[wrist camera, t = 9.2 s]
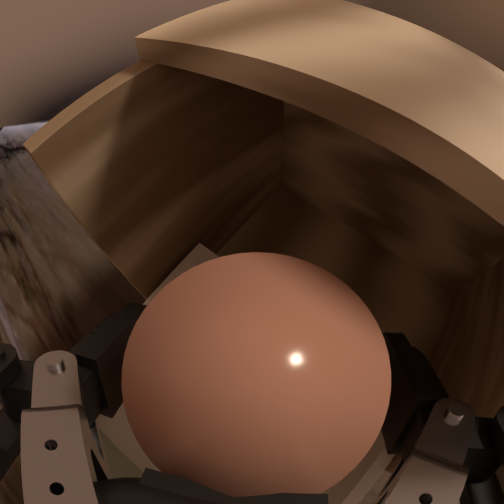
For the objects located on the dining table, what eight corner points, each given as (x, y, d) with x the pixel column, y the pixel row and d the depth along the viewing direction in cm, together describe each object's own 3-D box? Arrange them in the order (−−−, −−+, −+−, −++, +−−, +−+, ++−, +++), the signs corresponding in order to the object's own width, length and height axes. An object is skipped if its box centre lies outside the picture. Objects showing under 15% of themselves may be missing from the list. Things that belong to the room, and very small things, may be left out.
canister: (186, 401, 15) (77, 384, 5) (250, 326, 17) (235, 211, 7) (268, 463, 13) (279, 550, 4) (331, 383, 15) (431, 341, 6)
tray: (86, 416, 16) (30, 411, 11) (210, 275, 21) (193, 225, 15) (266, 558, 11) (267, 605, 6) (396, 401, 16) (445, 394, 11)
